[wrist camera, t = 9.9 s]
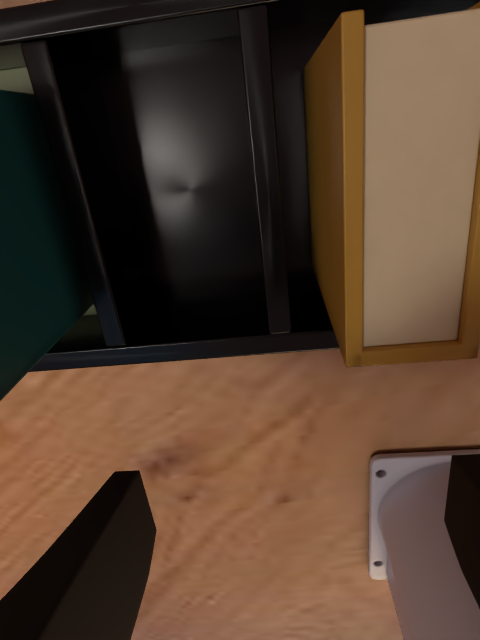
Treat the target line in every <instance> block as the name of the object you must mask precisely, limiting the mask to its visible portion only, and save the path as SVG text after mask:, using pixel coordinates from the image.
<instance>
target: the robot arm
mask: <svg viewBox="0 0 480 640" xmlns="http://www.w3.org/2000/svg"><path fill="white" fill-rule="evenodd" d="M379 470H383V471H381V472H377V471H379ZM155 536H156V527H155V523H154V520H153V516H152V513H151V509H150V506H149V502H148V499H147V496H146V492H145V489H144V485H143V482H142V478H141V475H140V471H139V470H138V471H118V472H114V473H113V474H112V476H111V477H110V478H109V479H108V480H107V481H106V482H105V484H104V485H103V486H102V487H101V488H100V490H99V491H98V492H97V493H96V494H95V495H94V497H93V498H92V499H91V500H90V501H89V503H88V504H87V505H86V506H85V507H84V509H83V510H82V511H81V512H80V513H79V514H78V516H77V517H76V518H75V519H74V520H73V522H72V523H71V524H70V525H69V526H68V527H67V528H66V530H65V531H64V532H63V533H62V534H61V535H60V536H59V538H58V539H57V540H56V541H55V542H54V543H53V544H52V546H51V547H50V548H49V549H48V550H47V551H46V552H45V554H44V555H43V556H42V557H41V558H40V559H39V560H38V561H37V562H36V563H35V564H34V565H33V567H32V568H31V569H30V570H29V571H28V572H27V573H26V574H25V575H24V576H23V577H22V578H21V579H20V580H19V581H18V582H17V584H16V585H15V586H14V587H13V588H12V589H11V590H10V591H9V592H8V593H7V594H6V595H5V596H4V597H3V598H2V599H1V600H0V640H131V636H132V633H133V629H134V626H135V622H136V619H137V615H138V612H139V608H140V605H141V601H142V598H143V594H144V591H145V587H146V583H147V580H148V576H149V571H150V565H151V560H152V554H153V548H154V542H155ZM368 572H369V575H370V577H371V578H373V579H377V580H381V579H388V583H389V587H390V591H391V594H392V598H393V602H394V606H395V609H396V613H397V617H398V620H399V624H400V628H401V632H402V635H403V639H404V640H480V449H473V450H452V451H432V452H412V453H392V454H378V455H375V456H373V457H372V458H371V459H370V468H369V534H368Z"/></svg>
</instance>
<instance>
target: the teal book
mask: <svg viewBox="0 0 480 640" xmlns="http://www.w3.org/2000/svg"><path fill="white" fill-rule="evenodd" d="M93 304H94V302H93V299H92V295H91V292H90V288H89V285H88V281H87V278H86V274H85V271H84V267H83V264H82V260H81V257H80V253H79V250H78V246H77V243H76V239H75V236H74V232H73V229H72V225H71V222H70V218H69V215H68V211H67V208H66V204H65V200H64V197H63V193H62V190H61V186H60V183H59V179H58V176H57V172H56V169H55V165H54V162H53V158H52V155H51V151H50V148H49V144H48V141H47V137H46V134H45V130H44V127H43V123H42V120H41V116H40V113H39V109H38V106H37V102H36V99H35V95H34V94H30V93H23V92H16V91H8V90H1V89H0V401H1V400H2V399H3V398H4V397H5V396H6V395H7V393H8V392H9V391H10V390H11V389H12V388H13V387H14V386H15V385H16V384H17V383H18V382H19V381H20V380H21V379H22V378H23V377H24V376H25V375H26V374H27V373H28V372H29V371H30V370H31V369H32V367H33V366H34V365H35V364H36V363H37V362H38V361H39V360H40V359H41V358H42V357H43V356H44V355H45V354H46V353H47V352H48V351H49V350H50V349H51V348H52V347H53V346H54V345H55V344H56V343H57V341H58V340H59V339H60V338H61V337H62V336H63V335H64V334H65V333H66V332H67V331H68V330H69V329H70V328H71V327H72V326H73V325H74V324H75V323H76V322H77V321H78V320H79V319H80V318H81V317H82V315H83V314H84V313H85V312H86V311H87V310H88V309H89V308H90V307H91V306H92V305H93Z"/></svg>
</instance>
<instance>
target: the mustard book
mask: <svg viewBox="0 0 480 640" xmlns="http://www.w3.org/2000/svg"><path fill="white" fill-rule="evenodd" d="M303 88H304V109H305V130H306V151H307V172H308V193H309V214H310V235H311V256H312V267H313V270H314V273H315V276H316V279H317V282H318V285H319V288H320V291H321V294H322V297H323V300H324V303H325V306H326V309H327V312H328V315H329V318H330V321H331V324H332V327H333V330H334V333H335V336H336V339H337V342H338V345H339V348H340V351H341V354H342V357H343V360H344V363H345V365H346V367H357V366H371V365H385V364H399V363H413V362H428V361H442V360H456V359H470V358H477V357H478V349H479V342H480V2H479V3H477V4H475V5H474V6H472V7H470V8H468V9H467V10H463V11H457V12H450V13H443V14H437V15H430V16H423V17H417V18H410V19H403V20H397V21H390V22H383V23H377V24H370V25H365V26H364V10H362V9H360V10H354V11H347V12H343V13H341V14H340V16H339V17H338V19H337V20H336V22H335V23H334V25H333V26H332V28H331V29H330V31H329V32H328V34H327V35H326V37H325V38H324V39H323V41H322V42H321V44H320V45H319V47H318V48H317V50H316V51H315V53H314V54H313V56H312V57H311V59H310V60H309V62H308V63H307V65H306V66H305V68H304V69H303Z"/></svg>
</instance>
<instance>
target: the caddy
mask: <svg viewBox="0 0 480 640" xmlns="http://www.w3.org/2000/svg"><path fill="white" fill-rule="evenodd" d="M479 2H480V0H52V1H46V2H40V3H34V4H28V5H22V6H16V7H10V8H4V9H0V89H1V90H8V91H16V92H23V93H30V94H34V95H35V99H36V102H37V106H38V109H39V113H40V116H41V120H42V123H43V127H44V130H45V134H46V137H47V141H48V144H49V148H50V151H51V155H52V158H53V162H54V165H55V169H56V172H57V176H58V179H59V183H60V186H61V190H62V193H63V197H64V200H65V204H66V208H67V211H68V215H69V218H70V222H71V225H72V229H73V232H74V236H75V239H76V243H77V246H78V250H79V253H80V257H81V260H82V264H83V267H84V271H85V274H86V278H87V281H88V285H89V288H90V292H91V295H92V299H93V302H94V304H93V305H92V306H91V307H90V308H89V309H88V310H87V311H86V312H85V313H84V314H83V315H82V317H81V318H80V319H79V320H78V321H77V322H76V323H75V324H74V325H73V326H72V327H71V328H70V329H69V330H68V331H67V332H66V333H65V334H64V335H63V336H62V337H61V338H60V339H59V340H58V341H57V343H56V344H55V345H54V346H53V347H52V348H51V349H50V350H49V351H48V352H47V353H46V354H45V355H44V356H43V357H42V358H41V359H40V360H39V361H38V362H37V363H36V364H35V365H34V366H33V367H32V369H31V370H30V371H29V372H35V371H48V370H61V369H75V368H88V367H101V366H114V365H128V364H141V363H154V362H168V361H181V360H194V359H208V358H221V357H234V356H248V355H261V354H274V353H288V352H301V351H314V350H327V349H340V348H339V345H338V342H337V339H336V336H335V333H334V330H333V327H332V324H331V321H330V318H329V315H328V312H327V309H326V306H325V303H324V300H323V297H322V294H321V291H320V288H319V285H318V282H317V279H316V276H315V273H314V270H313V267H312V256H311V235H310V214H309V193H308V172H307V151H306V130H305V109H304V88H303V69H304V68H305V66H306V65H307V63H308V62H309V60H310V59H311V57H312V56H313V54H314V53H315V51H316V50H317V48H318V47H319V45H320V44H321V42H322V41H323V39H324V38H325V37H326V35H327V34H328V32H329V31H330V29H331V28H332V26H333V25H334V23H335V22H336V20H337V19H338V17H339V16H340V14H341V13H343V12H347V11H354V10H360V9H362V10H364V26H365V25H370V24H377V23H383V22H390V21H397V20H403V19H410V18H417V17H423V16H430V15H437V14H443V13H450V12H457V11H463V10H467V9H468V8H470V7H472V6H474V5H475V4H477V3H479Z"/></svg>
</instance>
